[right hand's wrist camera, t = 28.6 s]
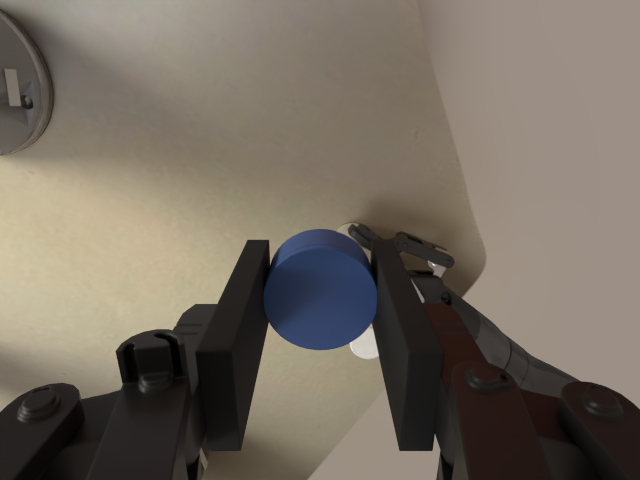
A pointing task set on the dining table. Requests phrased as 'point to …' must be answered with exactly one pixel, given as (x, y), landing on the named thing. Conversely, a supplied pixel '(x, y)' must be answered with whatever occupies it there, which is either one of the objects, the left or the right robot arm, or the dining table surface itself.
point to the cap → (320, 290)
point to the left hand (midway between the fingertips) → (335, 247)
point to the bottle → (366, 341)
